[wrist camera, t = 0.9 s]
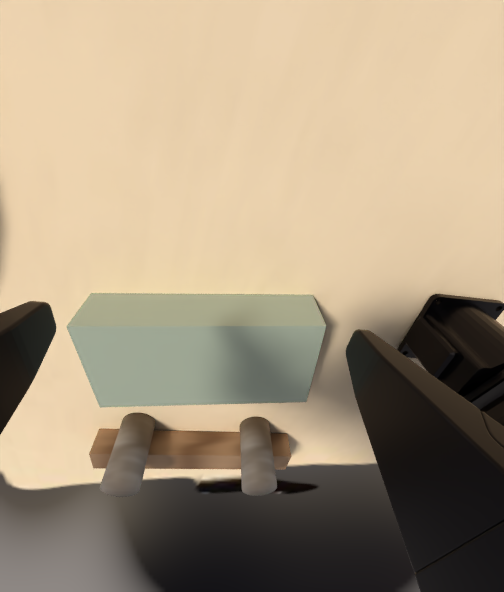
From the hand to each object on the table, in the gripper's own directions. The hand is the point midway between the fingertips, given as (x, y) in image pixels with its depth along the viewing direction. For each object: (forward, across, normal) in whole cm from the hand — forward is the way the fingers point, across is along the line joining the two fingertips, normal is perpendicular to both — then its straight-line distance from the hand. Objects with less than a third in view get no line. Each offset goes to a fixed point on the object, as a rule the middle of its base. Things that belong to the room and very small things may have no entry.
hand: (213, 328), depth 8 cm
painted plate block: (+11, 0, +10) cm, 15 cm away
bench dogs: (+11, 0, +24) cm, 26 cm away
